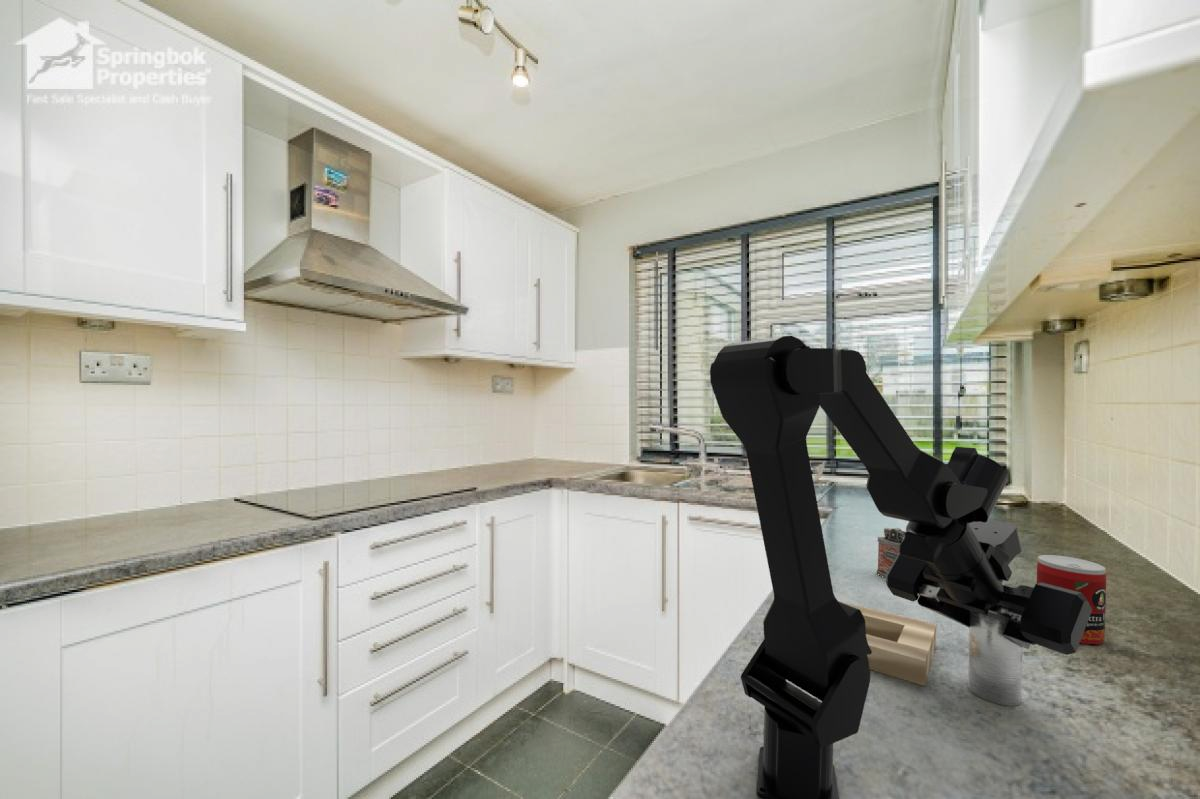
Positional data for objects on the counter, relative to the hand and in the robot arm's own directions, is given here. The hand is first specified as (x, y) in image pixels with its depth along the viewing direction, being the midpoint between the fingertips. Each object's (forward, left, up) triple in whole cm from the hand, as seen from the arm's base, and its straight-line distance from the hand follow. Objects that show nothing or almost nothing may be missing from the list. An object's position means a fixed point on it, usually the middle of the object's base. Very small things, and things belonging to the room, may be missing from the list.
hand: (1001, 635), depth 62 cm
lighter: (+42, +3, -7) cm, 43 cm away
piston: (-1, +1, -7) cm, 7 cm away
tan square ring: (+6, +13, -7) cm, 16 cm away
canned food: (+24, -17, -7) cm, 30 cm away
